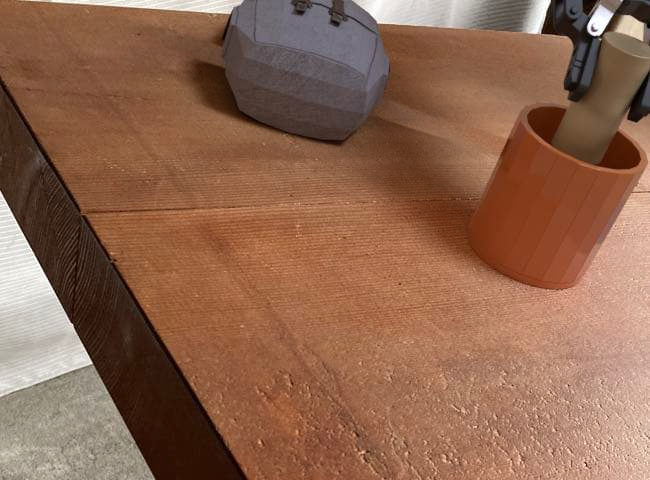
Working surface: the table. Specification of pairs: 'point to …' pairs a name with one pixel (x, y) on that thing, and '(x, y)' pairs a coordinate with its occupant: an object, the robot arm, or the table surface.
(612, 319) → the table surface
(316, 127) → the small grey backpack
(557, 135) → the birch peg
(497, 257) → the orange cup
